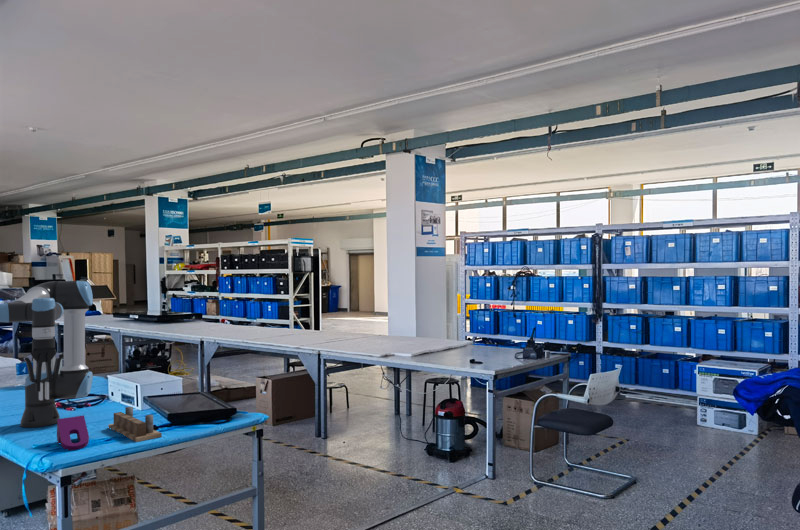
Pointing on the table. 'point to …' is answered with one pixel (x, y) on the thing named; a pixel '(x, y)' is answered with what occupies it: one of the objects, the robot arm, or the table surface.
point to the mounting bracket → (72, 432)
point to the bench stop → (134, 426)
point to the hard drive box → (45, 365)
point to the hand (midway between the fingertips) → (43, 399)
